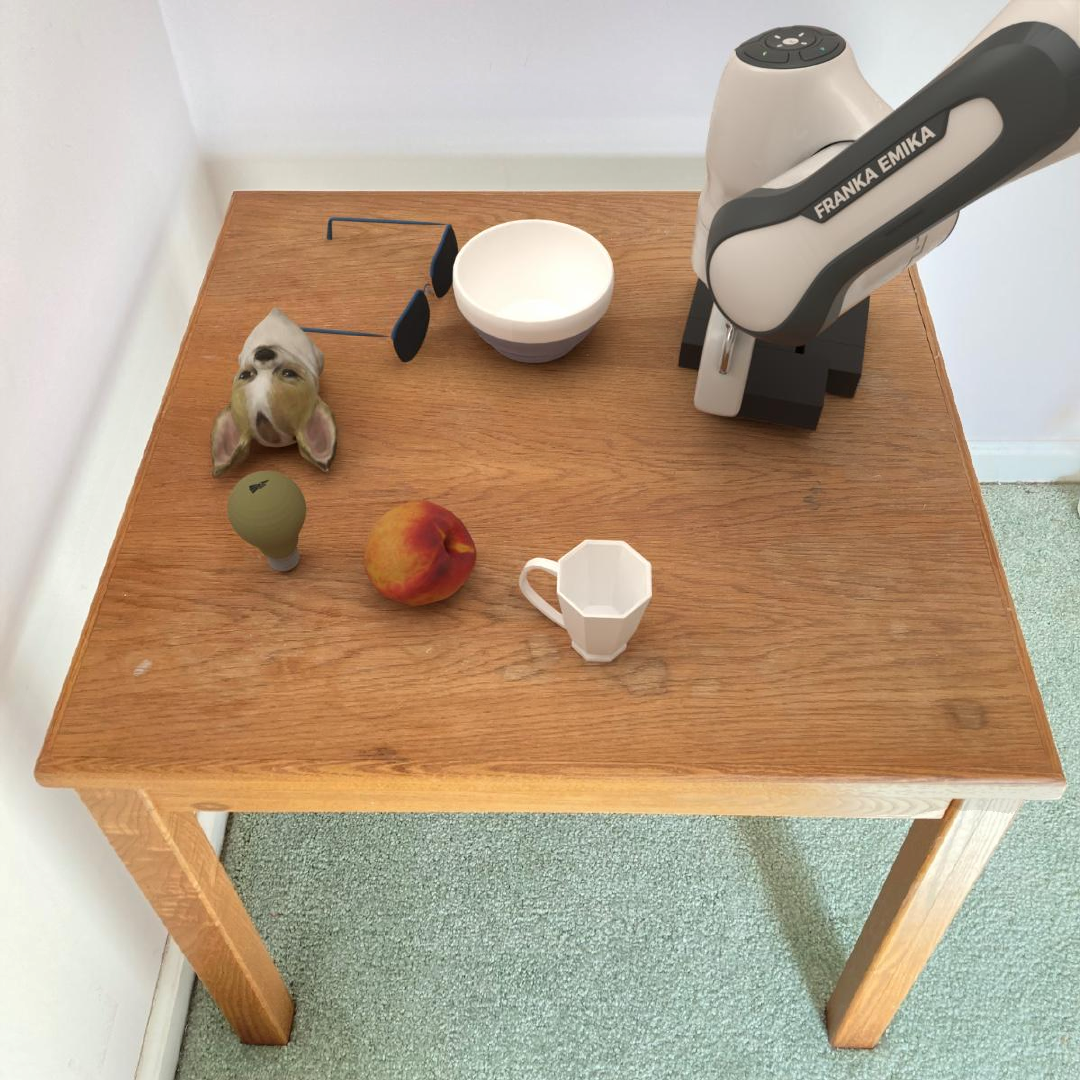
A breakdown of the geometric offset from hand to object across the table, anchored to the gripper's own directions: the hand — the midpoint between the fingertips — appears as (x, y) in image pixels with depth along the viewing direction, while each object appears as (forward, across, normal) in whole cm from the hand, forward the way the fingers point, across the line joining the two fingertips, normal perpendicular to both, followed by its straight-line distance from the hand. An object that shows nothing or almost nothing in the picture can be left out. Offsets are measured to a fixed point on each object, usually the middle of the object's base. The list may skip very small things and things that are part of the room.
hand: (724, 375), depth 90 cm
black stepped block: (+2, +2, -4) cm, 4 cm away
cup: (+3, -27, +6) cm, 28 cm away
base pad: (+3, +9, -4) cm, 10 cm away
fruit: (+3, -26, +19) cm, 32 cm away
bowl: (+3, +4, +18) cm, 19 cm away
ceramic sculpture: (+3, -13, +36) cm, 39 cm away
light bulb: (+3, -27, +30) cm, 41 cm away
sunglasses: (+3, +4, +35) cm, 36 cm away
